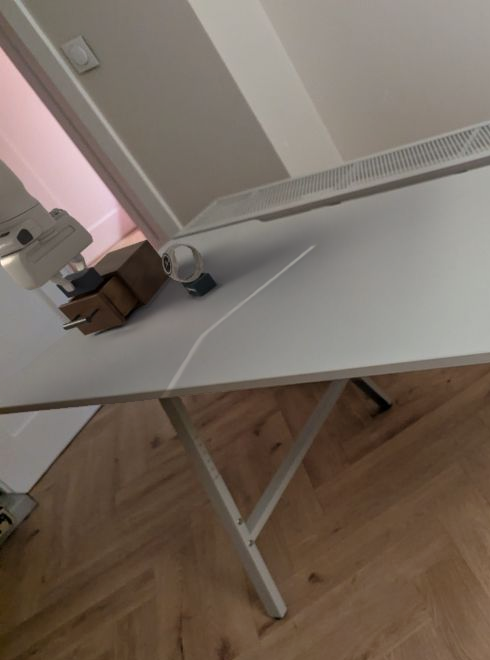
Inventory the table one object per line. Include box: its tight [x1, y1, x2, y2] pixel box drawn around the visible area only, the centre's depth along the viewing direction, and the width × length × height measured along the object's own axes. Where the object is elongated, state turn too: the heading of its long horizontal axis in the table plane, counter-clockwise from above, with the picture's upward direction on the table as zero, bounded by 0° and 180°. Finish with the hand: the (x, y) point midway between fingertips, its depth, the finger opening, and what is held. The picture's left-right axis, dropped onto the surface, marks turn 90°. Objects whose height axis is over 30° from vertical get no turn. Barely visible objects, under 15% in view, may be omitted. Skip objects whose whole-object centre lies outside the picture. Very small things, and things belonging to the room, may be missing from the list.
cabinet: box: [92, 239, 170, 310], centre depth 128 cm, size 15×12×10 cm
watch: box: [161, 243, 218, 297], centre depth 116 cm, size 6×8×11 cm
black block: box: [55, 266, 104, 299], centre depth 115 cm, size 7×4×4 cm, turn 90°
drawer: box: [57, 274, 139, 336], centre depth 119 cm, size 18×10×8 cm, turn 0°
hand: (80, 282), depth 115 cm, fingers closed on black block, 4 cm apart
